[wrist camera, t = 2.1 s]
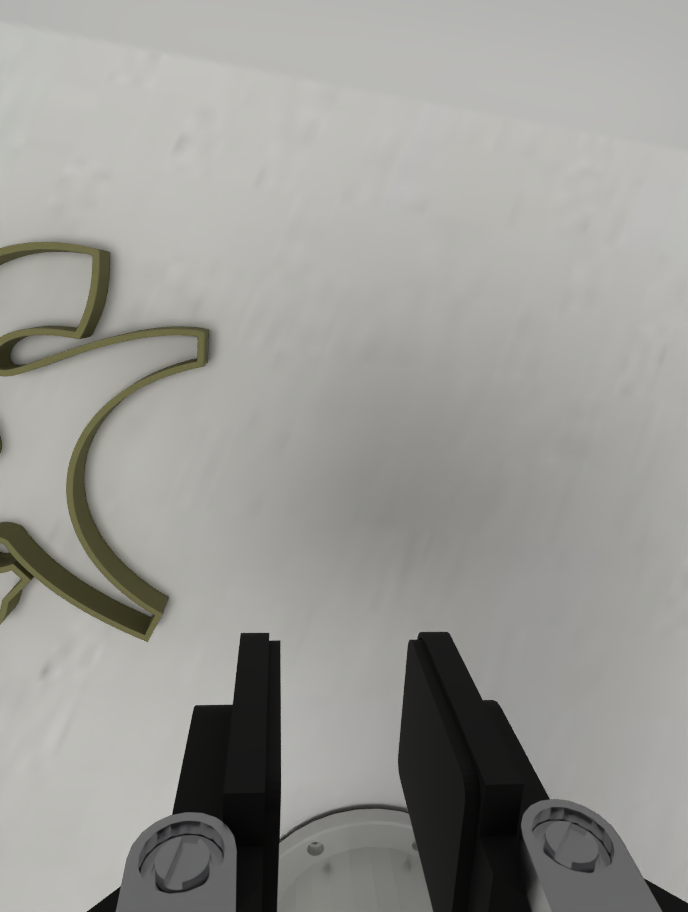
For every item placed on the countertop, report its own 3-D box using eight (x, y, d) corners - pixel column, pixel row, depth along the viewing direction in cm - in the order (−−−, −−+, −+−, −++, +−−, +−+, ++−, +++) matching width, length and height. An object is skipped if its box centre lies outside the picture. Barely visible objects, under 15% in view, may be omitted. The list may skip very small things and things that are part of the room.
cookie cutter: (158, 654, 31) (150, 679, 29) (-108, 615, 29) (-136, 638, 27) (228, 281, 27) (225, 280, 25) (-76, 207, 25) (-106, 199, 23)
